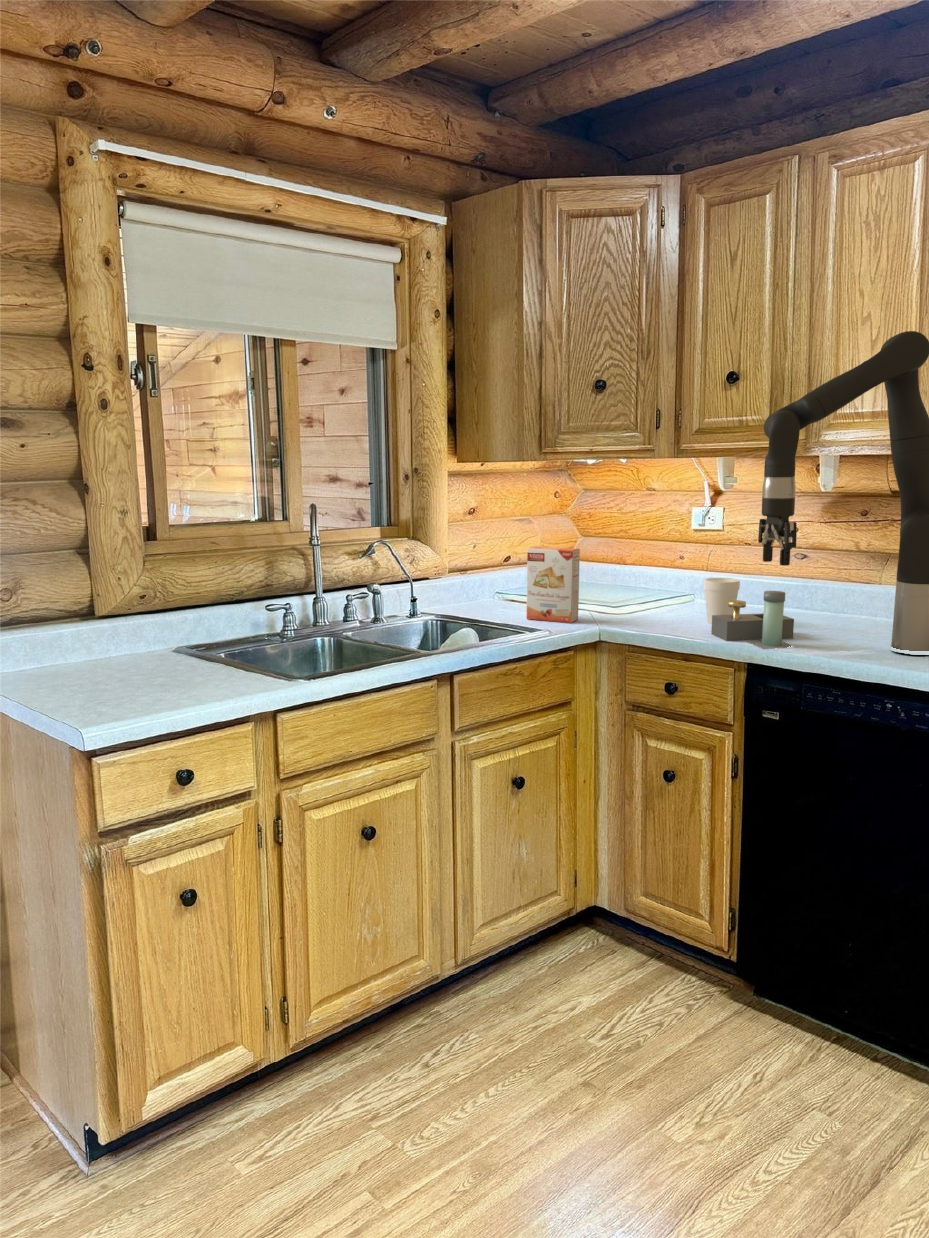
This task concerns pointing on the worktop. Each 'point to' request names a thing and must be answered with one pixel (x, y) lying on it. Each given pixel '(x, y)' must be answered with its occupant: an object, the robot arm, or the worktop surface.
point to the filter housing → (746, 627)
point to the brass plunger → (736, 607)
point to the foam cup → (720, 595)
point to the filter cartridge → (773, 618)
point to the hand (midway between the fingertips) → (775, 563)
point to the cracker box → (553, 584)
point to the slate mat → (759, 644)
